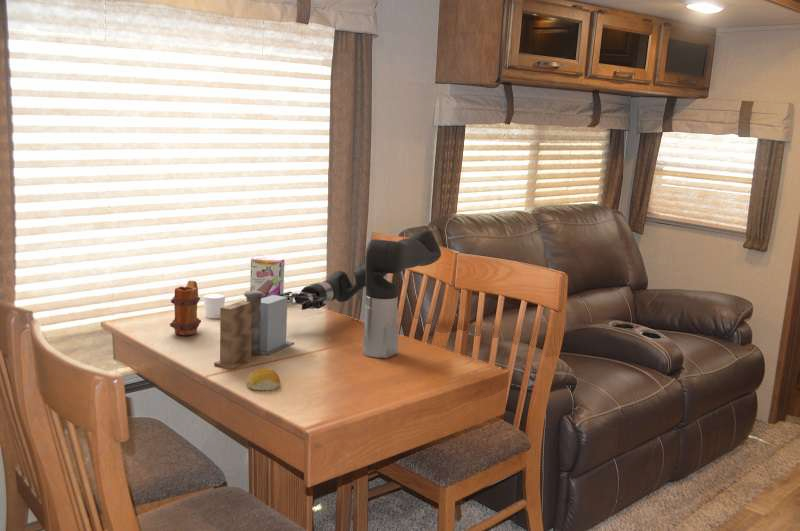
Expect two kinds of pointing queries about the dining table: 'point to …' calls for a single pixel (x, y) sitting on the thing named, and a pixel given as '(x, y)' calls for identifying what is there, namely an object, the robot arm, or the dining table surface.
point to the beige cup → (213, 305)
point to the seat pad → (276, 348)
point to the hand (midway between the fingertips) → (290, 304)
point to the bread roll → (263, 380)
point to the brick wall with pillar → (240, 331)
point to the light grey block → (273, 322)
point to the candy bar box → (267, 276)
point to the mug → (186, 309)
